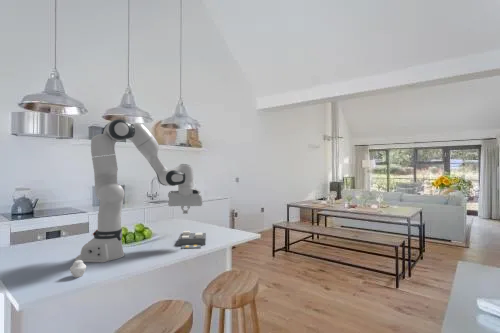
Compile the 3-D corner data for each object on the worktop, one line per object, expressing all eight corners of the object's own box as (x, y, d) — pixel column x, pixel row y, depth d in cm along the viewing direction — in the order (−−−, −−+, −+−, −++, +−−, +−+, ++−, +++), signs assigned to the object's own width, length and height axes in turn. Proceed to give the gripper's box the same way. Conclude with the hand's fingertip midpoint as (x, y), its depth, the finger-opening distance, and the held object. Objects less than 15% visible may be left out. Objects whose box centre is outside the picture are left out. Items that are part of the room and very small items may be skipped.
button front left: (181, 242, 174) (181, 237, 174) (182, 240, 178) (182, 235, 178) (188, 242, 174) (188, 237, 174) (189, 240, 178) (189, 235, 178)
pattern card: (181, 248, 166) (181, 247, 166) (182, 246, 171) (182, 244, 171) (200, 248, 167) (200, 246, 167) (200, 245, 172) (200, 244, 172)
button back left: (182, 237, 181) (182, 232, 181) (183, 235, 185) (183, 230, 185) (189, 236, 181) (189, 232, 181) (190, 235, 185) (190, 230, 185)
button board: (178, 245, 172) (178, 239, 172) (180, 239, 186) (180, 233, 186) (205, 245, 174) (205, 238, 174) (205, 239, 188) (205, 232, 188)
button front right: (195, 239, 175) (195, 234, 175) (195, 237, 179) (195, 233, 179) (202, 239, 175) (202, 234, 175) (202, 237, 179) (202, 232, 179)
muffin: (83, 272, 129) (83, 256, 129) (88, 275, 125) (88, 259, 125) (67, 276, 125) (67, 260, 125) (72, 280, 120) (72, 263, 120)
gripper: (167, 191, 171) (167, 214, 171) (202, 191, 174) (202, 214, 174) (169, 190, 178) (168, 212, 178) (202, 190, 180) (202, 212, 180)
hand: (185, 213), depth 176 cm, fingers closed
